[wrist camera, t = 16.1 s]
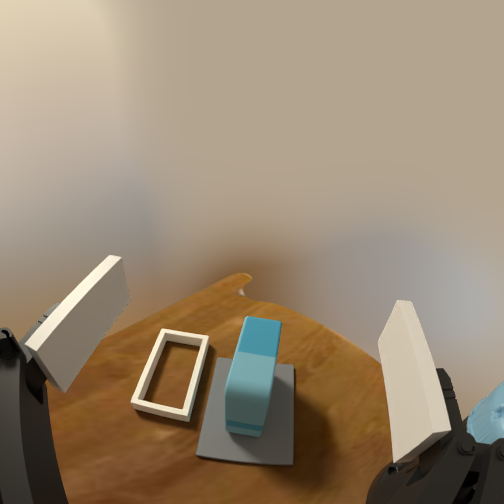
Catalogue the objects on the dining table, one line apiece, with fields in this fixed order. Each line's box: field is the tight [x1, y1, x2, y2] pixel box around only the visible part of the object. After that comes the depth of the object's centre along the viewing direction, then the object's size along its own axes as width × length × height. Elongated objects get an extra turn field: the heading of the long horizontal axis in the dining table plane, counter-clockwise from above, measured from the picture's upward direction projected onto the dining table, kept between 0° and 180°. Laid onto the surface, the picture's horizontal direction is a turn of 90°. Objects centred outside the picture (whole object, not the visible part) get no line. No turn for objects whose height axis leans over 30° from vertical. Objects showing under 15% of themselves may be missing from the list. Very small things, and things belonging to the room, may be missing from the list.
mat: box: [196, 357, 294, 466], centre depth 35 cm, size 12×17×1 cm
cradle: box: [131, 328, 209, 422], centre depth 38 cm, size 8×15×2 cm, turn 175°
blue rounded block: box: [224, 316, 282, 437], centre depth 32 cm, size 12×4×12 cm, turn 170°
